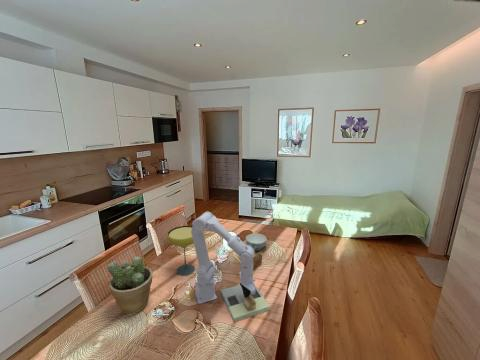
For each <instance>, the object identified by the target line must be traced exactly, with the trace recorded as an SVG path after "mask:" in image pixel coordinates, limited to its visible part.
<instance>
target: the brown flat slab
mask: <svg viewBox="0 0 480 360" xmlns="http://www.w3.org/2000/svg"><path fill="white" fill-rule="evenodd" d="M262 260H263V255H262V254H261V253H259V252H255V254H254V256H253V272H254V271H255V270H257V269H258V268H259V267H260V266H261V265H262Z"/></svg>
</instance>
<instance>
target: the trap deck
mask: <svg viewBox="0 0 480 360" xmlns="http://www.w3.org/2000/svg"><path fill="white" fill-rule="evenodd" d="M254 288H255V294H253V295H251V293H250V296H252V297H253V298H254V300H255V301H256V309H254V310H251V311H247V309H246V308H245V306H244V298H245V297H244V295H243V290H242V287H241V285H240V284H238V285H235V286H234V285H233V286H232V287H231V286H230V287H227V288H224V289H220V294H221V297H222V299H223V301H224V303H225V306H226V307H227V309H228V312H229V314H230V317H231V318H232V321H233V323H236V322H239V321H242V320H244V319H248V318H251V317H254V316H257V315H260V314H262V313H265V312H268V311H270V310H271V306H270V304H269V303H268V301H267V300H266V298H264V296H263V294H262V293H261V292H260V289H258V287H257V286H256V284H255V283H254ZM250 296H249V297H250Z"/></svg>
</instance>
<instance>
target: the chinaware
mask: <svg viewBox="0 0 480 360" xmlns="http://www.w3.org/2000/svg"><path fill="white" fill-rule="evenodd" d="M267 240H268V239H267V236H265V235H264V234H262V233H250V234H248V235H246V237H245V242H246V245H250V246H252V247H253V249H254V251H260V250H261V249H262V248H263V247H265V245H266V243H267Z"/></svg>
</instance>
